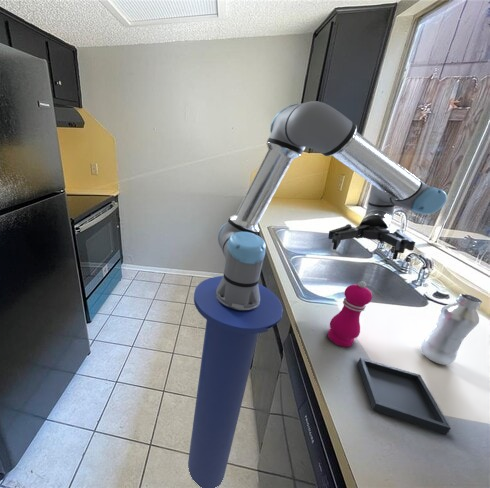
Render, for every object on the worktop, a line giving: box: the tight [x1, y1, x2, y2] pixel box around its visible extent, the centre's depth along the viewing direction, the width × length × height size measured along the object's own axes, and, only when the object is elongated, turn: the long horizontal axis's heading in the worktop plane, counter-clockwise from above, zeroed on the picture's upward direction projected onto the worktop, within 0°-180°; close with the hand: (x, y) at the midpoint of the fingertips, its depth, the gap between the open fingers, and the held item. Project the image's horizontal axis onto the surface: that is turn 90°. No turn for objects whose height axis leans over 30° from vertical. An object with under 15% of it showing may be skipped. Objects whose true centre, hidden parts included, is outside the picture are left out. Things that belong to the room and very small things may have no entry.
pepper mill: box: [327, 280, 373, 348], centre depth 72 cm, size 7×7×20 cm
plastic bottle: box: [420, 293, 483, 366], centre depth 67 cm, size 6×7×20 cm
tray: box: [356, 357, 452, 435], centre depth 60 cm, size 14×13×2 cm
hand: (363, 249), depth 71 cm, fingers open, 13 cm apart
